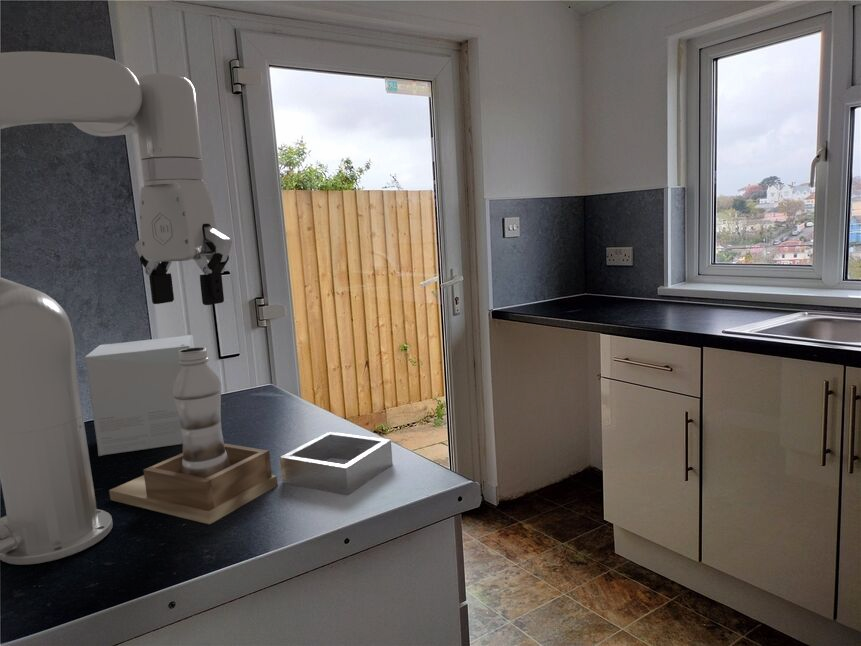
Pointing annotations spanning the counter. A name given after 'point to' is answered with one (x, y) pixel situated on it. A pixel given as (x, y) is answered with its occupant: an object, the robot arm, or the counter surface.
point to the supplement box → (135, 393)
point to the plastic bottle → (199, 415)
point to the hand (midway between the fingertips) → (187, 303)
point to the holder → (315, 473)
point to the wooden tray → (200, 486)
